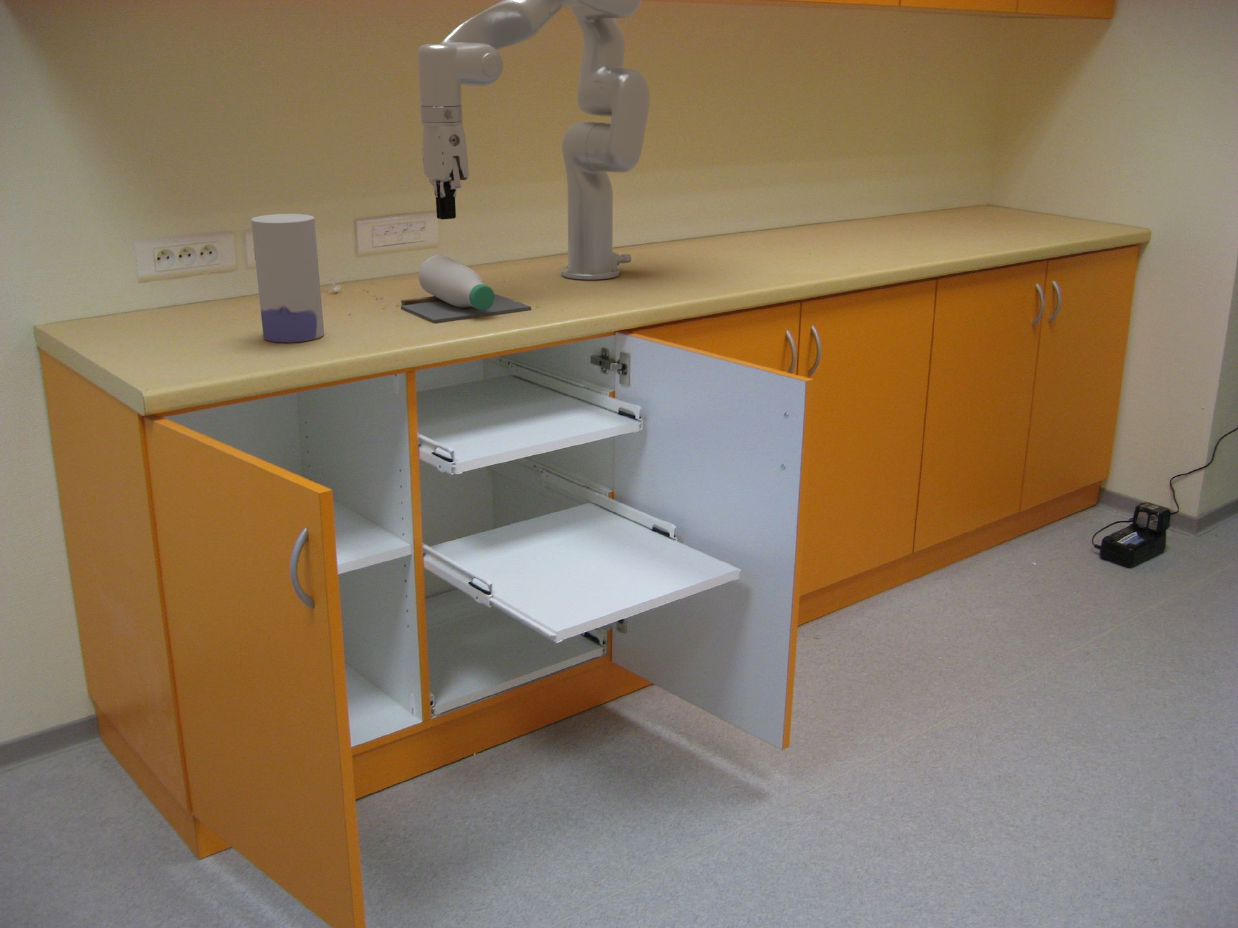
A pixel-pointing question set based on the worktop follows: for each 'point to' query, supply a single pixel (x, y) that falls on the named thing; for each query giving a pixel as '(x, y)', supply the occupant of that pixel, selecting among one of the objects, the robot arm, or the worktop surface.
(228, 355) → the worktop surface
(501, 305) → the mat
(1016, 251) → the worktop surface
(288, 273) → the container
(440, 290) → the milk bottle
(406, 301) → the rail
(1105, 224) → the worktop surface
